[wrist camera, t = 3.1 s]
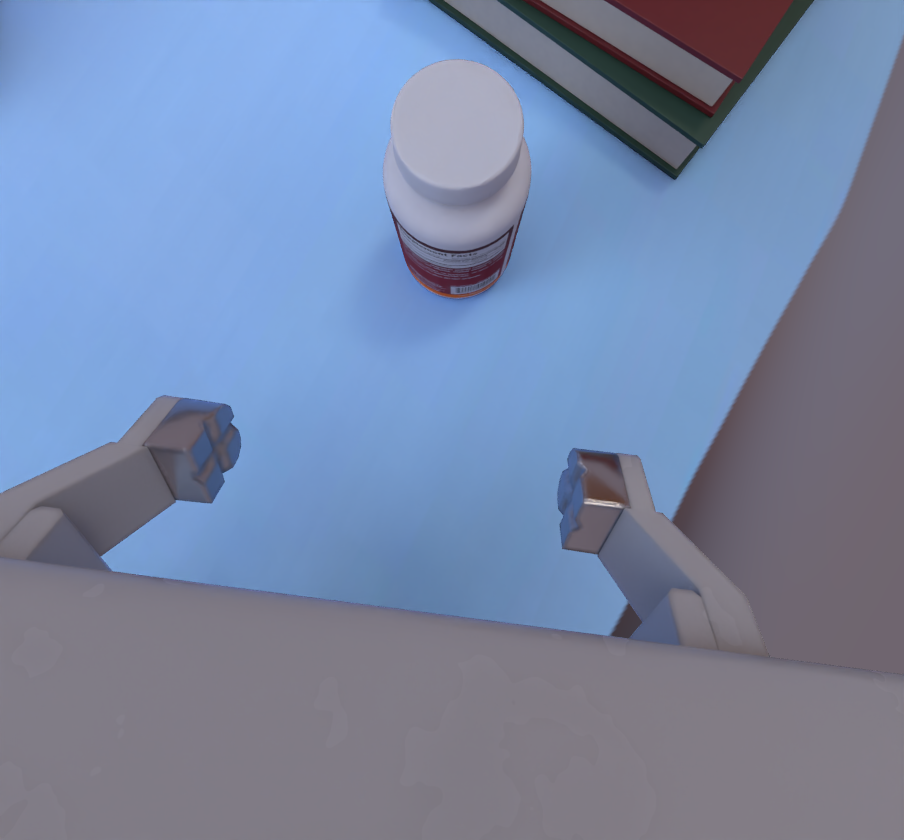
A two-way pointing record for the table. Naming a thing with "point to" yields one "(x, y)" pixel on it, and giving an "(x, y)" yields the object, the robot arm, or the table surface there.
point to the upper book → (676, 39)
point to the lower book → (607, 78)
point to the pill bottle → (457, 176)
